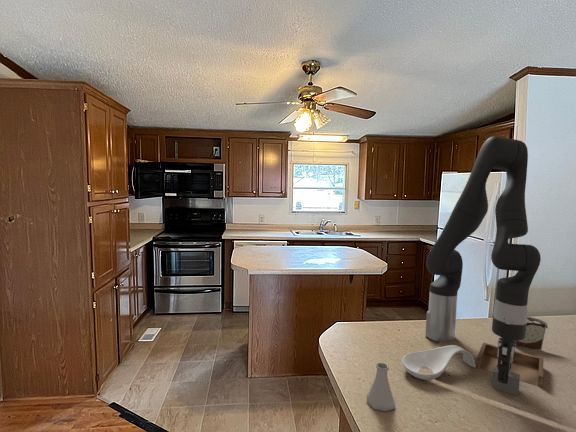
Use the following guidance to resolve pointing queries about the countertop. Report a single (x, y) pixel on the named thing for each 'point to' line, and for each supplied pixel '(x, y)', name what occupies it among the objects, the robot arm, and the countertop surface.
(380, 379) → the flask
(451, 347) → the spoon rest
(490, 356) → the open-fronted box
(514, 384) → the cover plate
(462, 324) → the countertop surface
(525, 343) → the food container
